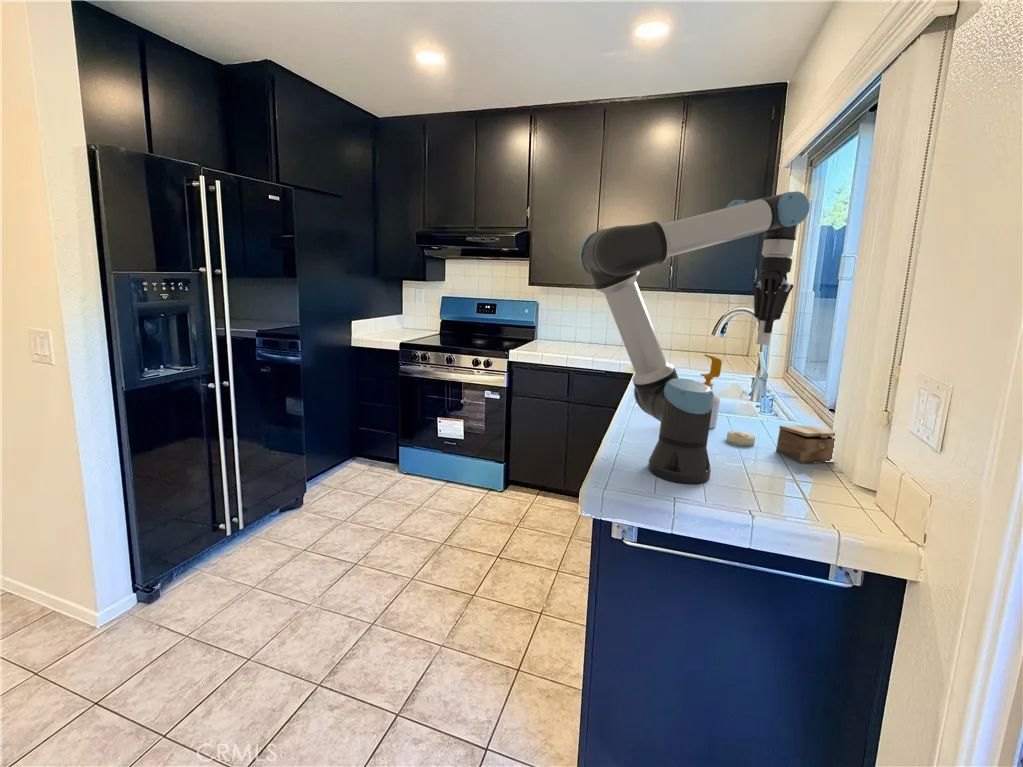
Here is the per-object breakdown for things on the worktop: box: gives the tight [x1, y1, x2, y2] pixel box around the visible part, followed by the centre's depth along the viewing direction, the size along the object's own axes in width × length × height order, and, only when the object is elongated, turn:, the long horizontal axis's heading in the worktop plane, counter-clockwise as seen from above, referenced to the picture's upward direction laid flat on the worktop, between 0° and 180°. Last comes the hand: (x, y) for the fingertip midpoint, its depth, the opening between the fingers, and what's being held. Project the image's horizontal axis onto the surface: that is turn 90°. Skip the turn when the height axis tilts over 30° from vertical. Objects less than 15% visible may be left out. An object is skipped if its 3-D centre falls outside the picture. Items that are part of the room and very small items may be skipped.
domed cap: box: [726, 430, 756, 448], centre depth 156 cm, size 8×8×3 cm
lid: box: [779, 425, 836, 438], centre depth 144 cm, size 11×10×1 cm
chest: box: [775, 429, 835, 464], centre depth 145 cm, size 11×10×7 cm
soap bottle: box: [700, 354, 723, 429], centre depth 170 cm, size 9×9×25 cm
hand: (762, 344), depth 138 cm, fingers closed
